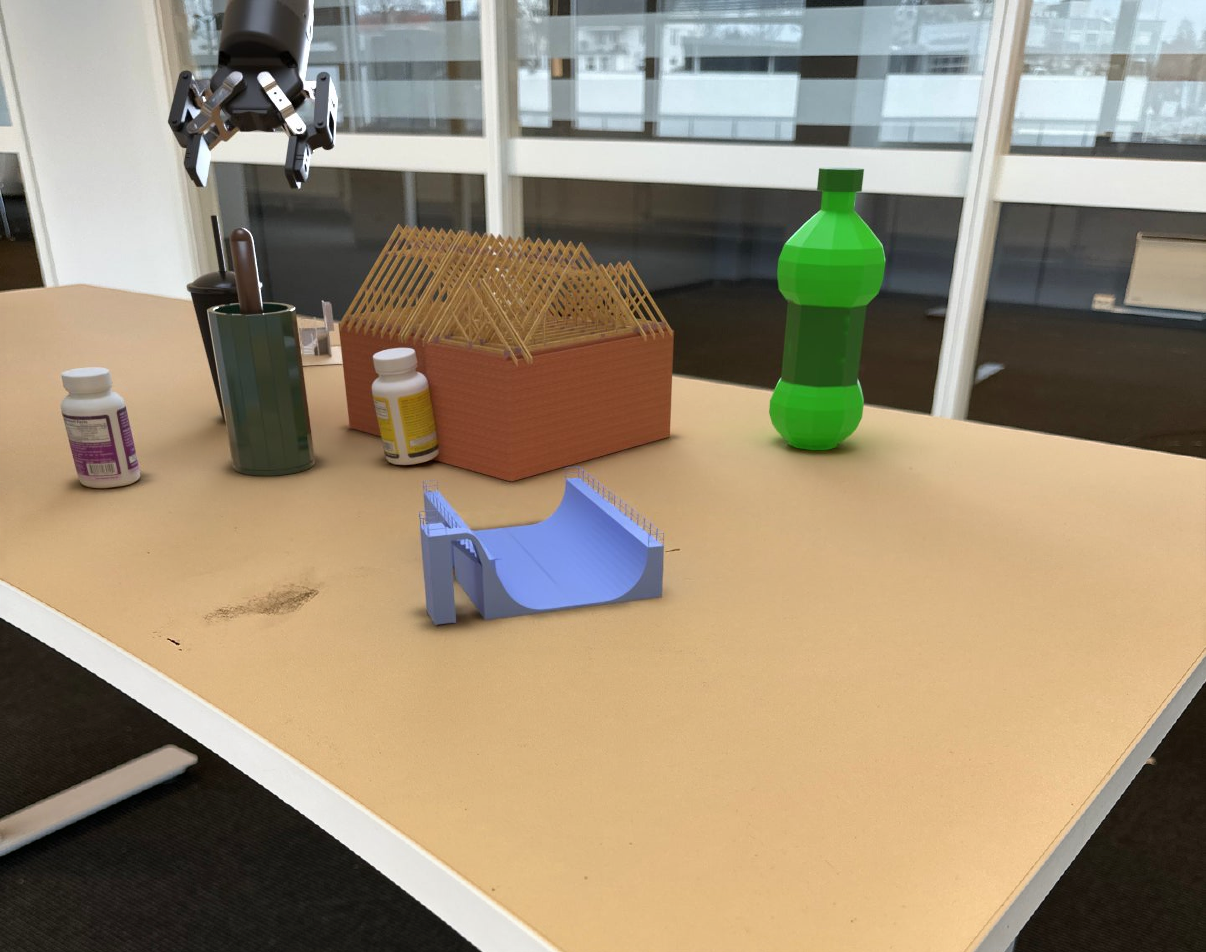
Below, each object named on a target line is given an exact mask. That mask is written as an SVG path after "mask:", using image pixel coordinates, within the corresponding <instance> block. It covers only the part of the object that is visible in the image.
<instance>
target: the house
mask: <svg viewBox="0 0 1206 952" xmlns="http://www.w3.org/2000/svg"><path fill="white" fill-rule="evenodd" d="M399 233H400V236H399V237H398V239H397V241H396V243H394V241H395V239H396V238H397V236H398V234H399ZM404 239H405V242H404V244H403V245H402V247H401V249H400V250H399V247H400V246H401V244H402V242H403V241H404ZM476 241H477V242H476ZM393 243H394V245H393ZM392 245H393V247H392ZM509 245H510V246H511V247H510V246H509ZM409 246H411V248H410V249H408V248H409ZM519 246H520V247H521V248H520V247H519ZM390 247H392V248H391V251H390ZM489 247H490V248H489ZM529 248H530V249H529ZM538 248H540V250H541V251H539V249H538ZM549 249H550V251H551V253H550V252H549ZM559 250H560V251H561V253H562V254H560V252H559ZM445 251H446V252H445ZM570 251H571V253H572V255H571V254H570ZM470 252H471V253H470ZM494 253H495V254H494ZM515 253H516V254H517V255H516V254H515ZM581 253H582V254H583V256H584V257H585V259H586V260H587V262H588V263H589V264H590V268H589V266H588V265H587V263H586V262H585V261H584V258H583V257H582V256H581ZM525 254H526V255H525ZM386 255H387V257H386ZM395 256H396V258H395V259H394V261H393V263H392V264H391V266H390V268H389V270H388V271H387V272H386V274H385V276H384V278H383V279H382V276H383V275H384V273H385V271H386V270H387V268H388V266H389V265H390V263H391V261H392V259H393V258H394V257H395ZM526 256H527V257H526ZM535 256H536V257H537V258H536V257H535ZM385 257H386V259H385V261H384V262H383V263H382V261H383V259H384V258H385ZM404 257H405V258H404ZM544 257H546V258H547V260H546V259H545V258H544ZM402 258H404V259H403V261H402V263H401V265H400V266H399V268H398V269H397V271H396V273H395V275H394V276H393V278H392V280H391V282H390V283H389V285H388V286H387V288H386V290H385V291H384V288H385V287H386V285H387V284H388V282H389V280H390V279H391V276H392V275H393V273H394V272H395V270H396V268H397V266H398V264H399V263H400V261H401V260H402ZM411 258H413V259H412V262H411V263H410V265H409V267H408V269H407V270H406V272H405V273H404V275H403V277H402V279H401V280H400V282H399V284H398V286H397V287H396V289H395V290H394V292H393V289H394V287H395V285H396V284H397V282H398V280H399V279H400V277H401V275H402V274H403V272H404V271H405V268H406V267H407V265H408V263H409V261H410V260H411ZM555 258H556V259H557V262H556V260H555ZM421 259H422V260H421ZM420 260H421V262H420V264H419V266H418V268H417V269H416V270H415V273H414V274H413V276H412V278H411V279H410V281H409V282H408V279H409V277H410V276H411V274H412V272H413V270H414V269H415V267H416V265H417V263H418V262H419V261H420ZM565 260H567V261H568V263H567V262H566V261H565ZM521 261H522V262H521ZM576 261H577V262H578V263H579V265H580V266H581V267H582V268H581V269H580V268H579V266H578V264H577V263H576ZM531 262H532V263H531ZM381 264H382V266H381V268H380V270H379V271H378V272H377V274H376V276H375V278H374V279H373V277H374V275H375V273H376V271H377V270H378V268H379V266H380V265H381ZM425 266H428V267H427V269H426V270H425V272H424V274H423V275H422V277H421V279H420V280H419V282H418V284H417V285H416V287H415V289H414V291H413V292H412V294H411V296H410V292H411V290H412V288H413V287H414V285H415V283H416V282H417V280H418V278H419V276H420V275H421V273H422V271H423V270H424V268H425ZM476 270H477V271H476ZM484 270H485V271H486V272H485V271H484ZM630 271H631V273H632V275H633V277H634V278H635V280H636V281H637V284H639V286H640V288H641V289H642V291H643V293H644V294H643V295H641V293H640V291H639V290H638V289H637V287H636V285H635V284H634V282H633V280H632V279H631V277H630ZM431 273H433V275H432V277H431V278H430V280H429V281H428V283H427V285H426V287H425V289H424V290H423V292H422V293H421V295H420V297H419V293H420V291H421V289H422V288H423V286H424V285H425V283H426V281H427V279H428V277H429V276H430V274H431ZM538 273H539V274H538ZM558 276H559V277H558ZM622 276H624V277H625V280H626V285H625V283H624V282H623V280H622ZM533 277H534V278H535V279H534V278H533ZM597 277H598V279H597ZM613 277H614V279H612V278H613ZM588 278H589V279H588ZM372 279H373V281H372V283H371V285H370V286H369V288H368V285H369V284H370V282H371V280H372ZM381 279H382V281H381V283H380V285H379V286H378V288H377V290H376V287H377V285H378V283H379V282H380V280H381ZM543 279H544V280H545V281H546V282H544V281H543ZM553 281H554V282H553ZM407 282H408V285H407V286H406V288H405V290H404V292H403V293H402V294H401V291H402V289H403V288H404V286H405V284H406V283H407ZM554 283H555V284H554ZM563 283H564V284H565V285H566V287H567V289H566V288H565V286H564V285H563ZM616 283H617V285H616ZM441 284H442V285H443V287H442V286H441ZM582 285H583V286H582ZM539 286H540V287H539ZM574 286H575V287H576V288H575V287H574ZM630 287H631V288H632V290H633V292H634V294H635V295H634V296H632V295H631V293H630ZM541 288H542V289H541ZM621 288H622V290H623V292H624V294H625V295H626V296H625V298H624V297H623V295H622V294H621ZM550 289H551V290H552V291H551V290H550ZM604 289H605V290H604ZM587 290H588V292H586V291H587ZM596 290H597V291H596ZM437 291H438V295H437V297H436V299H435V300H434V296H435V294H436V293H437ZM560 291H561V292H562V294H563V295H564V296H563V295H562V294H561V292H560ZM578 291H579V292H578ZM363 294H364V295H363ZM372 294H373V295H372ZM445 294H446V299H445V300H444V302H443V297H444V296H445ZM362 295H363V298H362V300H361V302H360V303H359V301H360V299H361V297H362ZM371 295H372V298H371V300H370V302H369V299H370V297H371ZM380 295H381V298H380V300H379V302H378V303H377V301H378V299H379V297H380ZM582 297H583V299H582ZM388 298H389V301H388V302H387V304H386V301H387V299H388ZM397 298H398V301H397V303H396V305H395V307H394V303H395V301H396V299H397ZM637 298H638V302H636V300H637ZM645 298H647V299H648V301H649V302H650V304H651V306H652V307H653V309H654V310H655V312H656V313H657V316H658V317H659V319H660V320H661V321H658V320H657V319H656V318H655V316H654V314H653V313H652V311H651V310H650V308H649V306H648V304H647V303H646V302H645ZM520 299H521V300H522V301H521V300H520ZM603 300H604V301H603ZM405 301H406V304H405V306H404V307H403V306H402V305H403V304H404V303H405ZM414 301H415V305H414V306H412V305H413V303H414ZM559 301H560V302H559ZM509 302H510V303H509ZM358 303H359V305H358V306H357V304H358ZM385 304H386V305H385ZM561 304H562V305H563V307H564V308H563V307H562V305H561ZM640 304H641V305H642V306H643V309H644V310H645V311H646V312H647V315H648V316H649V318H650V319H651V320H647V318H646V317H645V316H644V314H643V312H642V311H641V309H640V307H639V306H640ZM553 305H554V306H553ZM356 306H357V309H356V310H355V312H354V313H353V314H352V312H353V310H354V309H355V308H356ZM365 306H366V309H365V310H364V312H362V311H363V309H364V308H365ZM631 306H633V309H632V310H631V308H630V307H631ZM373 307H374V310H373V311H371V310H372V309H373ZM598 307H599V308H598ZM527 308H528V309H527ZM381 309H382V310H381ZM581 309H582V310H581ZM361 312H362V313H361ZM635 312H637V315H639V317H640V318H636V317H635V315H634V313H635ZM560 314H561V316H560ZM612 314H613V315H612ZM338 333H339V342H340V346H341V353H342V362H343V364H342V370H343V378H344V387H345V396H346V407H347V415H348V424H349V428H350V429H353V430H356V431H360V432H364V433H368V434H371V435H375V436H378V437H381V433H380V428H379V423H378V419H377V414H376V409H375V404H374V399H373V394H372V384H373V382H374V381H375V380H376V379H377V378H378V377H379V374H378V373H376V371H375V370H376V369H375V367H374V361H373V355H374V354H376V353H378V352H380V351H383V350H388V349H394V348H411V349H414V350H415V353H416V358H417V367H416V372H419V373H421V374H423V375H424V376H425V377H426V379H427V381H428V385H429V390H430V396H431V402H432V408H433V414H434V421H435V427H436V434H437V441H438V449H439V453H438V455H437V456H436V457H435V458H433V459H432V460H433V461H436V462H440V463H444V464H447V465H450V466H455V467H457V468H461V469H464V470H469V471H472V472H475V473H479V474H483V475H486V476H489V477H493V478H498V479H501V480H504V481H507V482H514V481H518V480H522V479H525V478H530V477H532V476H536V475H539V474H543V473H546V472H550V471H553V470H557V469H560V468H565V467H567V466H571V465H574V464H578V463H581V462H585V461H589V460H593V459H596V458H599V457H603V456H606V455H610V454H614V453H616V452H617V453H618V452H620V451H624V450H628V449H631V448H635V447H638V446H641V445H645V444H648V443H652V442H656V441H659V440H662V439H663V440H664V439H666V438H670V437H671V417H672V392H673V391H672V390H673V368H674V367H673V363H674V338H675V330H674V329H672V328H671V327H670V325H669V323H668V322H667V320H666V318H665V317H664V315H663V314H662V311H661V310H660V309H659V307H658V305H657V304H656V302H655V301H654V298H652V295H651V294H650V293H649V291H648V289H647V288H646V286H645V284H644V283H643V281H642V279H641V278H640V276H639V275H638V273H637V271H636V270H635V267H633V265H632V263H631V262H630V260H627V261H626V263H625V264H624V265H623V264H622V263H621V262H620V261H618V262H617V264H616V265H615V266H614V265H613V264H612V262H609V264H608V265H607V266H606V268H605V266H604V264H603V263H600V264H599V265H598V264H597V263H596V262H595V261H594V258H593V257H592V255H591V254H590V252H589V250H588V249H587V248H586V246H585V245H584V244H583V242H582V241H581V242H579V244H578V246H577V247H575V245H574V243H573V242H572V240H570V241H569V242H568V244H567V245H566V247H565V245H564V244H563V242H562V241H561V239H558V241H557V243H556V245H554V244H553V242H552V240H551V239H550V238H548V239H547V241H546V242H545V244H544V243H543V241H542V240H541V238H540V237H538V238H537V239H536V241H535V243H534V241H532V239H531V238H530V236H528V237H526V239H525V241H524V239H522V237H521V236H520V235H518V236H517V238H516V240H514V239H513V237H512V236H511V235H510V234H508V236H507V237H506V238H505V239H504V238H503V236H502V235H501V233H498V235H497V237H496V236H494V234H493V233H492V232H490V233H489V235H488V233H487V232H484V233H483V235H482V237H481V236H480V234H479V233H478V232H477V231H474V233H473V235H472V236H471V234H470V232H469V231H468V230H464V229H463V230H461V229H459V230H458V231H457V233H456V234H455V232H454V231H453V229H452V228H450V229H449V231H448V232H446V231H445V230H444V229H443V227H441V228H440V230H439V232H438V231H437V230H436V229H435V227H431V229H430V231H429V230H428V229H427V227H426V226H423V227H422V229H419V228H418V226H417V225H414V227H413V228H410V226H409V225H408V224H406V225H405V227H404V228H403V226H401V224H399V223H398V224H397V225H396V227H395V229H394V230H393V232H392V234H391V236H390V237H389V238H388V241H387V242H386V243H385V246H384V247H383V249H382V251H381V252H380V254H379V256H378V257H377V258H376V261H375V263H374V264H373V266H372V268H371V269H370V271H369V273H368V275H367V276H366V278H365V280H364V281H363V283H362V284H361V286H360V288H359V290H358V291H357V293H356V295H355V296H354V299H353V300H352V301H351V303H350V305H349V307H348V308H347V310H346V312H345V314H344V315H343V317H342V319H341V320H340V322H338Z"/></svg>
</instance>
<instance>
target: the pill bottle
mask: <svg viewBox="0 0 1206 952" xmlns="http://www.w3.org/2000/svg"><path fill="white" fill-rule="evenodd" d="M60 376H61V381H62V387H63V388H64V390H65V391H66V392H67V393H68V394H67V395H66V396H64V397H63V398H62V400H61V403H60V411H61V416H62V420H63V423H64V427H65V431H66V435H67V438H68V439H67V440H68V443H69V447H70V451H71V454H72V455H71V456H72V459H73V463H74V467H75V470H76V474H77V477H78V480H79V482H80V484H81V485H82V486H85V487H87V488H93V489H109V488H117V487H119V488H120V487H123V486H128V485H132V484H134V483H135V482H137V481H138V480H139V479H140V478H141V470H140V464H139V459H138V455H137V450H136V446H135V441H134V436H133V433H132V428H131V424H130V419H129V415H128V410H127V406H126V402H125V400H124V399H123V397H122V395H120V394H119V393H117V392H116V391H113V390H111V388H112V387H113V380H112V375H111V372H110V370H109V369H108V368H105V367H100V366H99V367H98V366H97V367H96V366H95V367H94V366H89V367H87V366H86V367H77V368H72V369H71V368H70V369H67V370H65V371H64V370H63V371H62V372H61V373H60Z"/></svg>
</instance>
